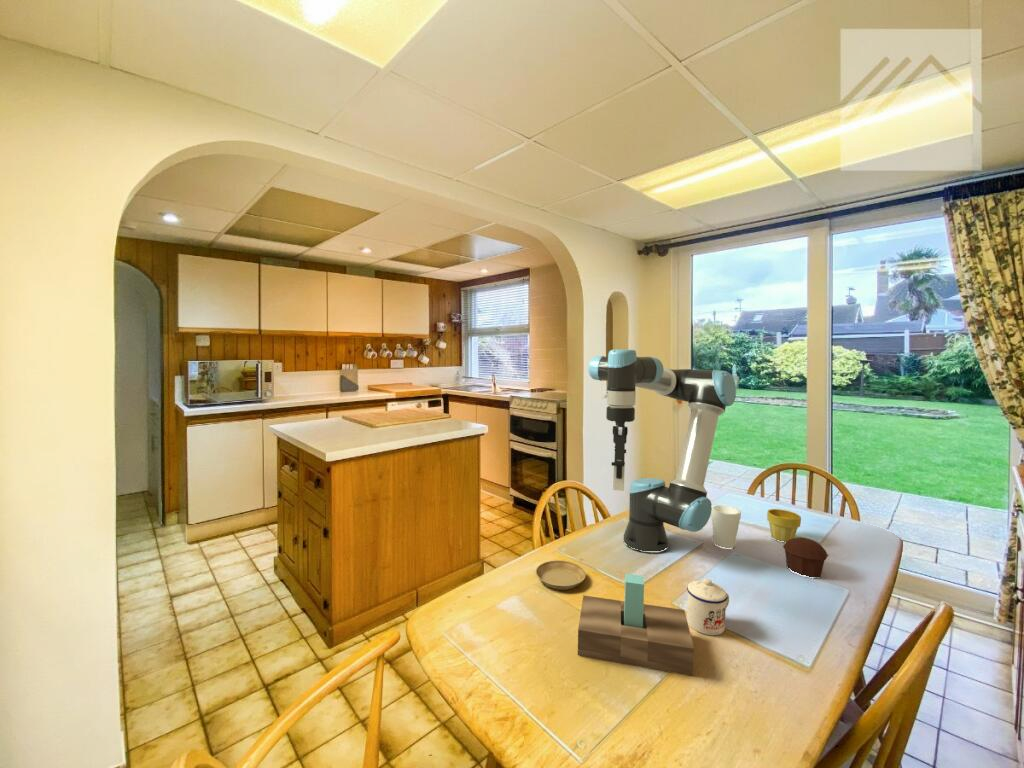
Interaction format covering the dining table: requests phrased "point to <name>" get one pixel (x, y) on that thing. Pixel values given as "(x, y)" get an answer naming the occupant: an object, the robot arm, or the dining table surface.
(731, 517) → the foam cup
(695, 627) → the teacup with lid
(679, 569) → the dining table surface
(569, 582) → the plant saucer
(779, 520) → the plant pot
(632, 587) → the peg
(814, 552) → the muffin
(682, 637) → the hole board
